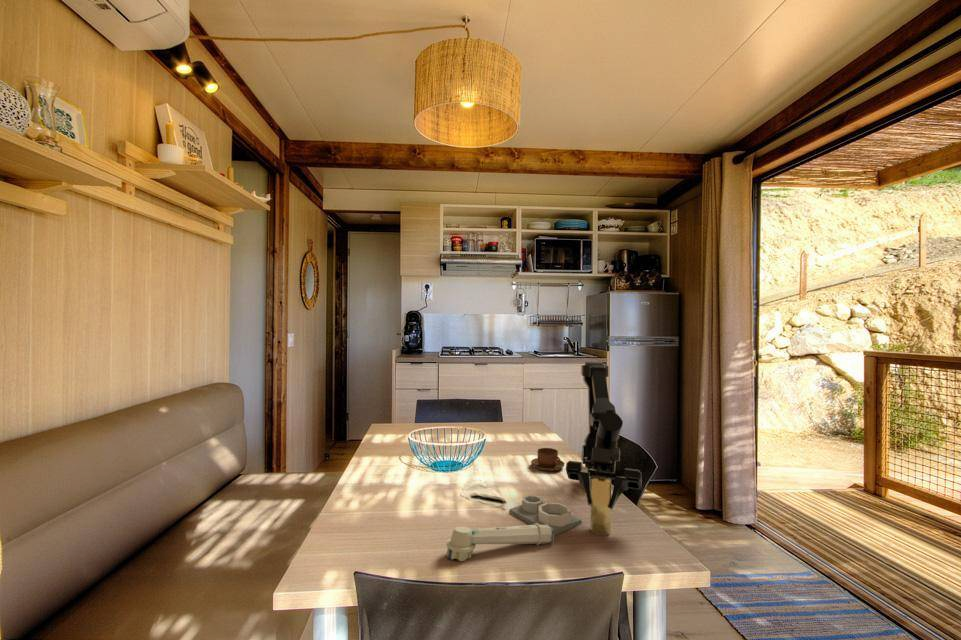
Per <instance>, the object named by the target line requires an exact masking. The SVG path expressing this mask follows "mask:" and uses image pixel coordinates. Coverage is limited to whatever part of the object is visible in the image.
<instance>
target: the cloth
mask: <svg viewBox="0 0 961 640" xmlns="http://www.w3.org/2000/svg"><path fill="white" fill-rule="evenodd" d="M459 496H460V497H463V498H465V499H467V500H469V501H473V502H477V503H480V504H483V505H487V506H492V507H494V508H497V509H501V510H505V511H506V510H507V509H506V508H505V506H504V504H502V502H505V503H507V501H506V500H505V498H503V497H502V495H501V494H500V493H499V492H498V491H496V490H494V489H492V488H490V487H488V486H487V484H486V483H485V482H484V481H482V480H472V479H471V478H468V479H467V481H466V482H465V484H464V485H463V487H462V488H461V492H460V494H459ZM484 498H485V499H484ZM489 499H490V500H489Z"/></svg>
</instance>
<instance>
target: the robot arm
mask: <svg viewBox="0 0 961 640" xmlns="http://www.w3.org/2000/svg"><path fill="white" fill-rule="evenodd" d="M580 368H581V369H580V373H581V376H582V379H583V381H582V382H584V384H585V386H586V387H587V396H588V398H587V399H588V403H587V404H588V407H587V408H588V433H587V434H586V436H585V438H584V440H583V441H584V442H583V444H584V445H582V447H581V453H580V454H581V455H580V456H581V461H576V460H569V461H567V462H566V465H565V471H566V475H567V479H569V480H571V481H572V480H573V481H579V484H581V485H583V486H584V489H585V494H586V498H587V505H588V506H590V507H591V477H592V476H606V477H608V478H610V479H611V480H613V481H614V482H613V489H612V492H611V505H610V508H611V510H613V509H614V507H615V505H616V503H617V501H618V499H619V498H620V496H621V495H622V494H623V492H624V491H628V490H629V489H631V490H632V489H633V490H639V491H640V490H642V483H643V481H642V472H641V470H640V469H637V468H636V469H634V468H627V467H624V472H618V471H616V465H617V463H619V462H620V461H621V448H620V447H618V440H619V438H620V436H621V432H622V428H623V422H624V421H623V420H622V417H620V416H619V414H618V413H617V412H616V407H615V405H614V404H613V403H612V402H611V401H610V397H609V391H608V389H609V388H608V384H607V378H608V377H609V365H605V364H604V362H601V361H585V362H584V364H581V367H580ZM616 462H617V463H616ZM583 465H584V466H583Z"/></svg>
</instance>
